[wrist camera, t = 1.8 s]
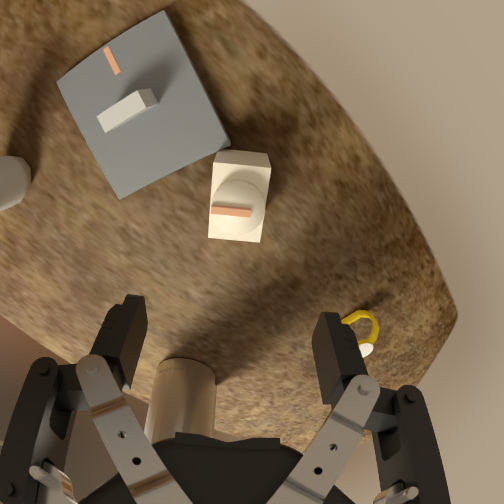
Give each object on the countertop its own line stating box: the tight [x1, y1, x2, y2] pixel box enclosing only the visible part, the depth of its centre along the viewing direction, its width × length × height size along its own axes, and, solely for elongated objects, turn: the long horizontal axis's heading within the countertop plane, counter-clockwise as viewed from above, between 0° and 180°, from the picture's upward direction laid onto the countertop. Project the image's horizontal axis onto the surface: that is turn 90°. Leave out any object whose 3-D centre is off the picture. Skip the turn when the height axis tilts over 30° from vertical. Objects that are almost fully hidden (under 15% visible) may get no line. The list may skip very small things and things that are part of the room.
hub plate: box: [56, 10, 231, 200], centre depth 22 cm, size 14×12×5 cm
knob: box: [208, 149, 271, 243], centre depth 26 cm, size 4×7×6 cm
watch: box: [341, 310, 379, 357], centre depth 36 cm, size 6×3×6 cm, turn 129°
